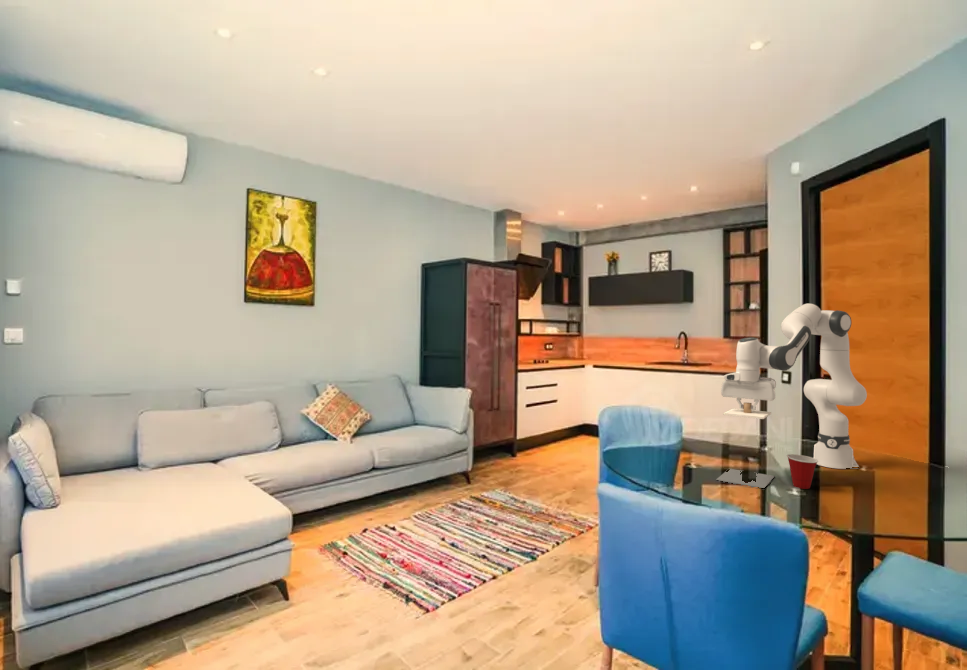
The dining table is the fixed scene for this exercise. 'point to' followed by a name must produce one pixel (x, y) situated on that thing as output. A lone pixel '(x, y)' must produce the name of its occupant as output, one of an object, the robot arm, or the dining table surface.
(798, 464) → the plastic cup
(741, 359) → the robot arm
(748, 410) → the lid
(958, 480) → the dining table surface
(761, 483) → the mat
